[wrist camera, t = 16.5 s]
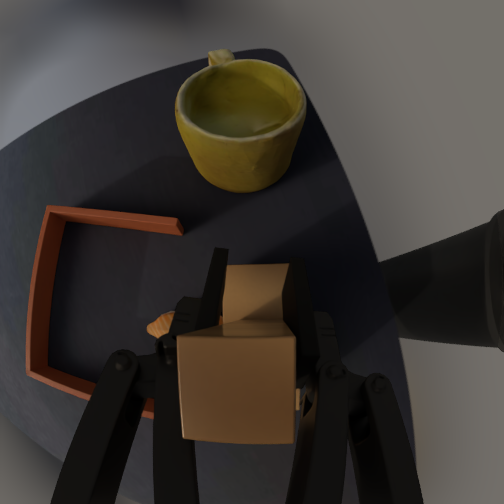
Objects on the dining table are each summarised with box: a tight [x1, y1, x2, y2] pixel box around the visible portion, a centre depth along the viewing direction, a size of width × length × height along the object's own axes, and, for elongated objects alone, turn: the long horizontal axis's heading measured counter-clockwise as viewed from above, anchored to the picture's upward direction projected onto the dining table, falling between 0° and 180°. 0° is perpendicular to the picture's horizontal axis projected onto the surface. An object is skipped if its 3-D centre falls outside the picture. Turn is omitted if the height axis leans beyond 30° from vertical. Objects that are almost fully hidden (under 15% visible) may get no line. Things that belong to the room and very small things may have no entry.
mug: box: [175, 49, 306, 193], centre depth 21 cm, size 12×10×10 cm
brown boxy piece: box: [177, 263, 300, 444], centre depth 14 cm, size 10×5×16 cm, turn 1°
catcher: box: [26, 205, 184, 419], centre depth 20 cm, size 13×15×3 cm
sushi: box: [147, 311, 223, 338], centre depth 20 cm, size 3×6×3 cm, turn 96°
